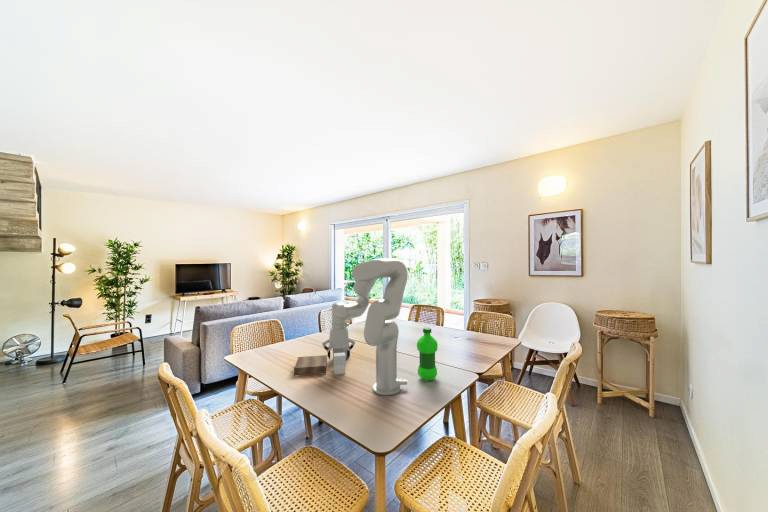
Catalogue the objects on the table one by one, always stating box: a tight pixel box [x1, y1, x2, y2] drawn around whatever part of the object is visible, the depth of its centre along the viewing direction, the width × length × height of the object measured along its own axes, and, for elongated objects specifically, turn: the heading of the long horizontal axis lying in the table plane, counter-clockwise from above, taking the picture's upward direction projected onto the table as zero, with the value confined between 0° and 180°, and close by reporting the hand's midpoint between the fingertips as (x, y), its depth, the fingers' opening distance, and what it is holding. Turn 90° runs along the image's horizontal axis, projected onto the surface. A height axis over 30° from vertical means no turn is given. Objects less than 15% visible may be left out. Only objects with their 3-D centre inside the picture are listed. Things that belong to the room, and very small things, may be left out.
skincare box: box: [332, 336, 351, 360], centre depth 169 cm, size 8×7×16 cm
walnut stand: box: [293, 354, 328, 376], centre depth 153 cm, size 16×16×4 cm
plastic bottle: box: [416, 327, 438, 382], centre depth 140 cm, size 10×10×25 cm
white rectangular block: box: [333, 353, 346, 375], centre depth 149 cm, size 6×6×9 cm
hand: (338, 358), depth 149 cm, fingers open, 9 cm apart
